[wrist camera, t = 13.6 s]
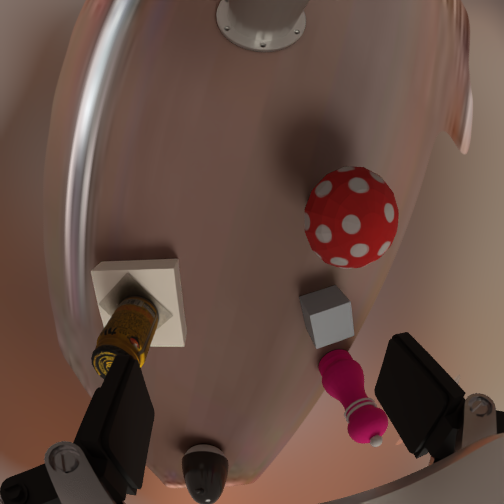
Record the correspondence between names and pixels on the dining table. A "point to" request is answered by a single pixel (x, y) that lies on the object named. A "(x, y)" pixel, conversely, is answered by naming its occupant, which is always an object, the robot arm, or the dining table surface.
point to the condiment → (127, 324)
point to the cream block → (156, 284)
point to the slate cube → (327, 316)
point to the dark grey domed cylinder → (205, 472)
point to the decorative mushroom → (351, 217)
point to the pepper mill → (353, 397)
